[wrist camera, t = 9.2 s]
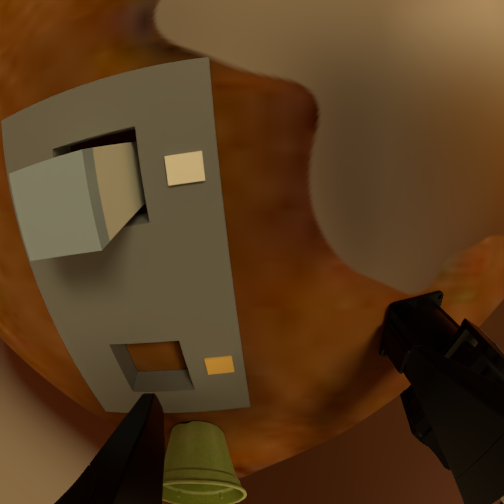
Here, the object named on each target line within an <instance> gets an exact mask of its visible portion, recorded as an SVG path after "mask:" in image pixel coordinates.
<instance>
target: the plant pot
mask: <svg viewBox="0 0 504 504" xmlns="http://www.w3.org/2000/svg"><path fill="white" fill-rule="evenodd" d="M246 496H247V493H246V491H245V489H244V488H242V487H241V484H240V481H239V479H238V478H237V477H236V474H235V471H234V468H233V465H232V461H231V458H230V454H229V451H228V447H227V443H226V439H225V435H224V433H223V432H222V431H221V429H220V428H219V427H218V426H216V425H214V424H211V423H208V422H202V421H191V422H189V423H186V424H181V423H179V424H177V425H175V426H174V427H173V428H172V430H171V434H170V438H169V443H168V447H167V451H166V455H165V460H164V476H163V496H162V500H164V501H166V502H169V503H173V504H233V503H237V502H240V501H241V500H243V499H244V498H245V497H246Z"/></svg>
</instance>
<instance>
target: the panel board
mask: <svg viewBox="0 0 504 504" xmlns="http://www.w3.org/2000/svg"><path fill="white" fill-rule="evenodd" d="M1 122H2V136H3V146H4V155H5V163H6V169H7V176H8V181H9V187H10V192H11V197H12V202H13V206H14V210H15V215H16V219H17V222H18V226H19V230H20V234H21V237H22V240H23V244H24V247H25V250H26V253H27V256H28V259H29V255H28V252H27V249H26V246H25V242H24V239H23V236H22V232H21V228H20V224H19V220H18V216H17V212H16V208H15V203H14V199H13V194H12V189H11V183H10V177H9V174H10V173H12V172H15V171H17V170H20V169H23V168H25V167H28V166H31V165H34V164H37V163H39V162H42V161H45V160H48V159H51V158H55V157H58V156H61V155H64V154H68V153H71V146H73V145H76V144H80V143H83V142H86V141H90V140H94V139H97V138H101V137H105V136H109V135H113V134H117V133H121V132H126V131H130V130H136V139H137V147H138V155H139V162H140V169H141V176H142V182H143V188H144V194H145V200H146V205H147V211H148V213H144V214H138V215H133V217H132V218H131V219H130V220H129V221H128V222H127V223H126V224H125V225H124V226H123V227H122V228H121V230H120V231H119V232H118V233H117V234H116V235H115V236H114V237H113V238H112V240H111V241H110V242H109V243H108V244H107V245H106V246H105V248H104V249H103V250H102V251H95V252H88V253H81V254H74V255H67V256H60V257H53V258H47V259H40V260H34V261H30V259H29V262H30V265H31V268H32V271H33V274H34V276H35V279H36V282H37V284H38V287H39V289H40V292H41V294H42V297H43V299H44V302H45V304H46V306H47V309H48V311H49V313H50V315H51V317H52V320H53V322H54V324H55V326H56V328H57V330H58V332H59V334H60V336H61V338H62V340H63V342H64V344H65V346H66V348H67V350H68V351H69V353H70V355H71V357H72V359H73V361H74V362H75V364H76V366H77V367H78V369H79V371H80V373H81V374H82V376H83V378H84V379H85V381H86V382H87V384H88V386H89V387H90V389H91V390H92V392H93V393H94V395H95V396H96V398H97V399H98V401H99V402H100V404H101V405H102V407H103V408H104V410H105V411H106V412H119V413H128V412H129V411H130V410H131V408H132V407H133V406H134V404H135V403H136V402H137V401H138V399H139V398H140V397H141V395H142V394H144V393H155V394H156V396H157V397H158V399H159V401H160V403H161V405H162V407H163V412H164V413H186V412H204V411H216V410H227V409H236V408H245V407H251V406H250V400H249V393H248V386H247V380H246V373H245V367H244V360H243V353H242V346H241V339H240V332H239V325H238V318H237V310H236V303H235V295H234V288H233V280H232V272H231V265H230V257H229V248H228V240H227V232H226V224H225V215H224V206H223V198H222V189H221V179H220V170H219V161H218V151H217V141H216V131H215V121H214V110H213V99H212V88H211V76H210V64H209V57H206V58H198V59H190V60H184V61H177V62H171V63H166V64H160V65H155V66H151V67H146V68H141V69H137V70H133V71H129V72H125V73H121V74H117V75H114V76H110V77H107V78H103V79H100V80H97V81H94V82H91V83H88V84H85V85H82V86H79V87H76V88H73V89H70V90H68V91H65V92H62V93H60V94H57V95H55V96H52V97H50V98H48V99H45V100H43V101H41V102H38V103H36V104H34V105H32V106H30V107H27V108H25V109H23V110H21V111H19V112H17V113H15V114H13V115H11V116H9V117H7V118H6V119H4V120H2V121H1ZM167 341H179V342H180V345H181V349H182V352H183V355H184V358H185V361H186V364H187V368H188V369H186V370H170V371H148V372H138V371H137V369H136V367H135V365H134V363H133V361H132V358H131V356H130V354H129V352H128V349H127V347H126V345H125V344H135V343H152V342H167Z"/></svg>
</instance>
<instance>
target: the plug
mask: <svg viewBox="0 0 504 504" xmlns="http://www.w3.org/2000/svg"><path fill="white" fill-rule="evenodd" d="M9 177H10V183H11V189H12V194H13V199H14V203H15V208H16V212H17V216H18V220H19V224H20V228H21V232H22V236H23V239H24V242H25V246H26V249H27V252H28V255H29V259H30V261H34V260H40V259H47V258H53V257H60V256H67V255H74V254H81V253H88V252H95V251H102V250H103V249H104V248H105V246H106V245H107V244H108V243H109V242H110V241H111V240H112V238H113V237H114V236H115V235H116V234H117V233H118V232H119V231H120V230H121V228H122V227H123V226H124V225H125V224H126V223H127V222H128V221H129V220H130V219H131V218H132V217H133V215H134V214H135V213H136V212H137V211H138V210H139V209H140V208H141V207H142V206H143V205H144V204H145V203H146V200H145V194H144V188H143V182H142V176H141V169H140V162H139V155H138V147H137V142H128V143H120V144H113V145H106V146H99V147H93V148H87V149H82V150H78V151H75V152H71V153H68V154H64V155H61V156H58V157H55V158H51V159H48V160H45V161H42V162H39V163H37V164H34V165H31V166H28V167H25V168H23V169H20V170H17V171H15V172H12V173H10V174H9Z"/></svg>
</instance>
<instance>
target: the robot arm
mask: <svg viewBox="0 0 504 504" xmlns="http://www.w3.org/2000/svg"><path fill="white" fill-rule="evenodd" d="M442 299H443V293H442V292H441V291H435V292H432V293H428V294H424V295H420V296H417V297H413V298H409V299H405V300H401V301H397V302H394V303H392V304H391V305H390V308H389V313H388V318H387V322H386V326H385V330H384V334H383V339H382V343H381V348H380V352H379V354H380V355H381V357H386V356H388V357H389V359H390V360H391V362H392V363H393V365H394V366H395V368H396V369H397V371H398V372H399V373H400V374H402V373H404V374H405V376H406V377H407V379H408V380H409V382H410V383H411V385H410V386H409V387H408V388H407V389H406V390H404V391H403V392H402V393H401V394H400V396H401V399H402V403H403V406H404V409H405V412H406V415H407V419H408V422H409V425H410V428H411V432H412V434H413V435H414V436H415V437H416V438H417V439H418V440H419V441H420V442H422V443H423V444H425V445H426V446H428V447H429V448H430V449H431V450H432V451H433V452H434V453H435V454H436V456H437V457H438V458H439V460H440V461H441V463H442V464H443V466H444V467H445V468H446V469H449V470H451V471H452V473H453V476H454V478H455V481H456V484H457V486H458V489H459V491H460V494H461V496H462V499H463V502H464V504H492V503H494V502H495V501H497V500H498V499H501V500H502V501H501V502H499V503H498V504H504V354H503V352H502V351H501V350H500V348H499V347H498V346H497V344H496V343H495V342H493V340H492V339H491V338H489V337H488V336H487V335H486V334H485V333H484V332H483V331H482V330H481V329H480V328H478V327H477V326H475V325H474V324H473V323H471V322H470V321H468V320H467V319H466V318H465V319H464V320H463V321H462V323H461V326H459V325H458V324H457V323H456V322H455V321H454V320H453V319H452V318H451V317H450V316H449V315H448V314H447V313H446V312H445V311H444V310H443V309H442V308H441V307H440V306H441V302H442ZM395 307H396V308H395ZM164 460H165V438H164V412H163V407H162V405H161V403H160V401H159V399H158V397H157V396H156V394H155V393H144V394H142V395H141V397H140V398H139V399H138V401H137V402H136V403H135V404H134V406H133V407H132V408H131V410H130V411H129V412H128V414H127V415H126V416H125V418H124V419H123V420H122V422H121V423H120V424H119V426H118V427H117V428H116V430H115V431H114V432H113V434H112V435H111V436H110V438H109V439H108V440H107V442H106V443H105V444H104V446H103V447H102V448H101V449H100V451H99V452H98V453H97V455H96V456H95V457H94V459H93V460H92V461H91V463H90V466H89V465H88V467H87V468H86V469H85V470H84V472H83V473H82V474H81V476H80V477H79V478H78V479H77V480H76V482H75V483H74V484H73V485H72V486H71V487H70V488H69V489H68V490H67V492H66V493H64V494H63V496H61V497H60V498H59V499H58V500H57V501H56V503H54V504H162V496H163V476H164Z"/></svg>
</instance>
